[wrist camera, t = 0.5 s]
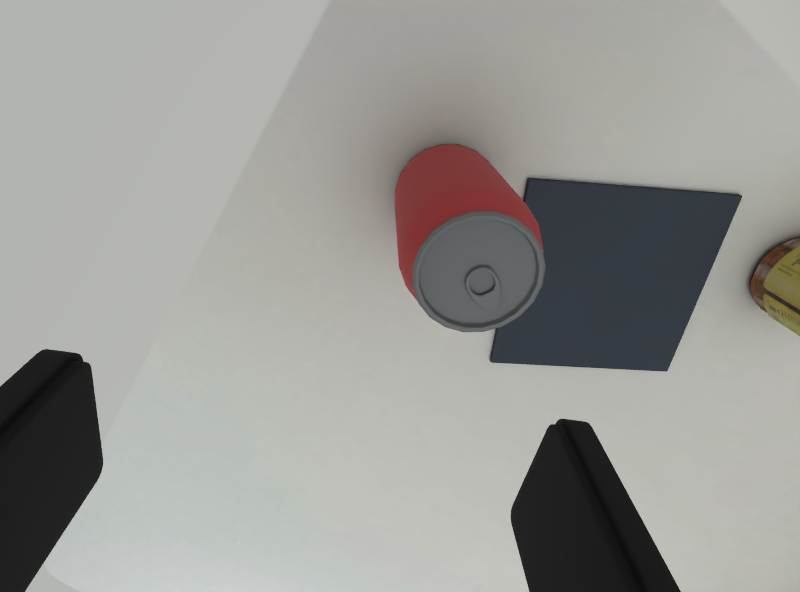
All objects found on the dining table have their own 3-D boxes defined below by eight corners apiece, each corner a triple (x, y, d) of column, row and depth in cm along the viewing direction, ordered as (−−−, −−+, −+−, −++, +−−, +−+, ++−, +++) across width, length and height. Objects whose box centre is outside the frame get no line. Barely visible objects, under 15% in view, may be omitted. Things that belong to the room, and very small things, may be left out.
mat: (527, 177, 30) (529, 179, 30) (738, 194, 31) (742, 195, 31) (489, 359, 36) (490, 362, 36) (664, 368, 37) (667, 371, 37)
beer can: (421, 259, 32) (439, 364, 22) (375, 172, 29) (371, 245, 19) (512, 216, 31) (578, 306, 21) (473, 122, 28) (527, 169, 18)
